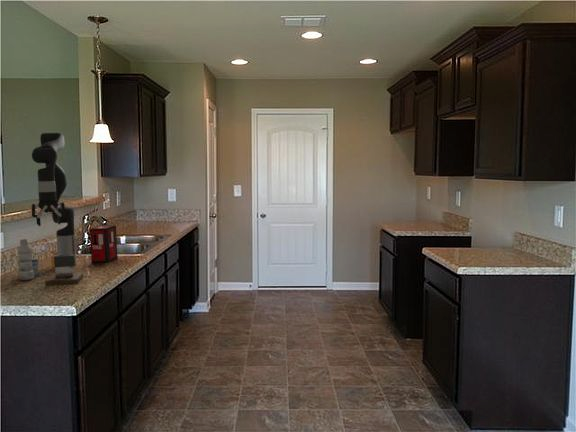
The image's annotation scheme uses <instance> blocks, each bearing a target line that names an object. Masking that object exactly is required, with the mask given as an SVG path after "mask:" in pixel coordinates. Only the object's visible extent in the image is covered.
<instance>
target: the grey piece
mask: <svg viewBox="0 0 576 432" xmlns="http://www.w3.org/2000/svg"><path fill="white" fill-rule="evenodd" d="M50 259H51V260H50V261H51V267H52V268H54V275H55V276H56V278H66V277H71V276H73V275H74V274H75V273H74V267H75V266H76V265H77V260H76V261H75V255H58V254H57V255H56V254H54V255H52V256H51V257H50Z"/></svg>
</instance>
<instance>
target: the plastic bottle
mask: <svg viewBox="0 0 576 432" xmlns="http://www.w3.org/2000/svg"><path fill="white" fill-rule="evenodd" d="M19 245H20V246H18V249H17V256H18V261H19V262H20V271H19V270H18V278H19V279H20V280H21V281H30V280H33V279H34V271H33V266H32V259H33V247H32V246H31V245H30V241H29V239H28V238H27V239H26V238H25V239H20V240H19Z"/></svg>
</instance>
